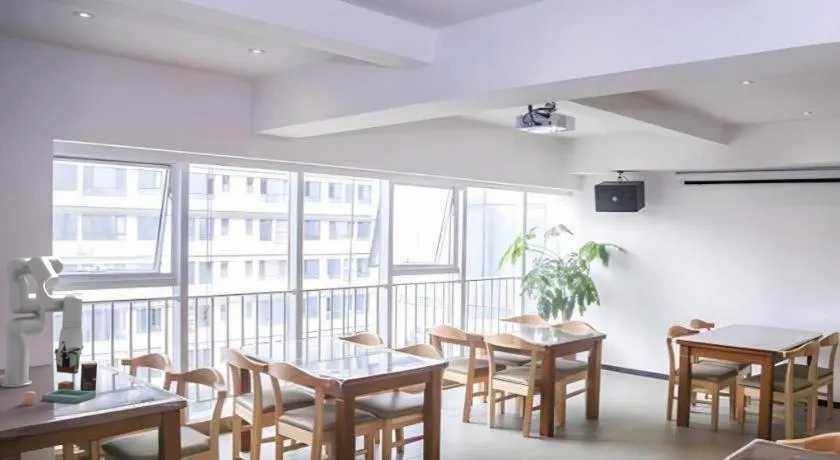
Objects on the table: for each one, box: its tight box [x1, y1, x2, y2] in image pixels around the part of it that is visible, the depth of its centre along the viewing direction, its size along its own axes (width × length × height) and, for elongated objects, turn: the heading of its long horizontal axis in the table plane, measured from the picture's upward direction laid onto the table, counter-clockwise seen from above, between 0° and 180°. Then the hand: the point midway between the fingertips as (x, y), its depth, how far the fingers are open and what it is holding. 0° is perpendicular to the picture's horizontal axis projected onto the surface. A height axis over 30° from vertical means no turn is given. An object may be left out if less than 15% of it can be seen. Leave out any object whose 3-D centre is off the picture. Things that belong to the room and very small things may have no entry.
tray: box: [41, 389, 97, 404], centre depth 298 cm, size 17×11×2 cm, turn 80°
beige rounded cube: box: [22, 390, 36, 407], centre depth 287 cm, size 4×4×5 cm
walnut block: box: [57, 380, 75, 390], centre depth 310 cm, size 4×4×4 cm
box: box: [79, 362, 98, 391], centre depth 316 cm, size 6×4×12 cm
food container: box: [54, 348, 83, 375], centre depth 299 cm, size 12×6×10 cm, turn 75°
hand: (70, 365), depth 298 cm, fingers closed on food container, 5 cm apart
